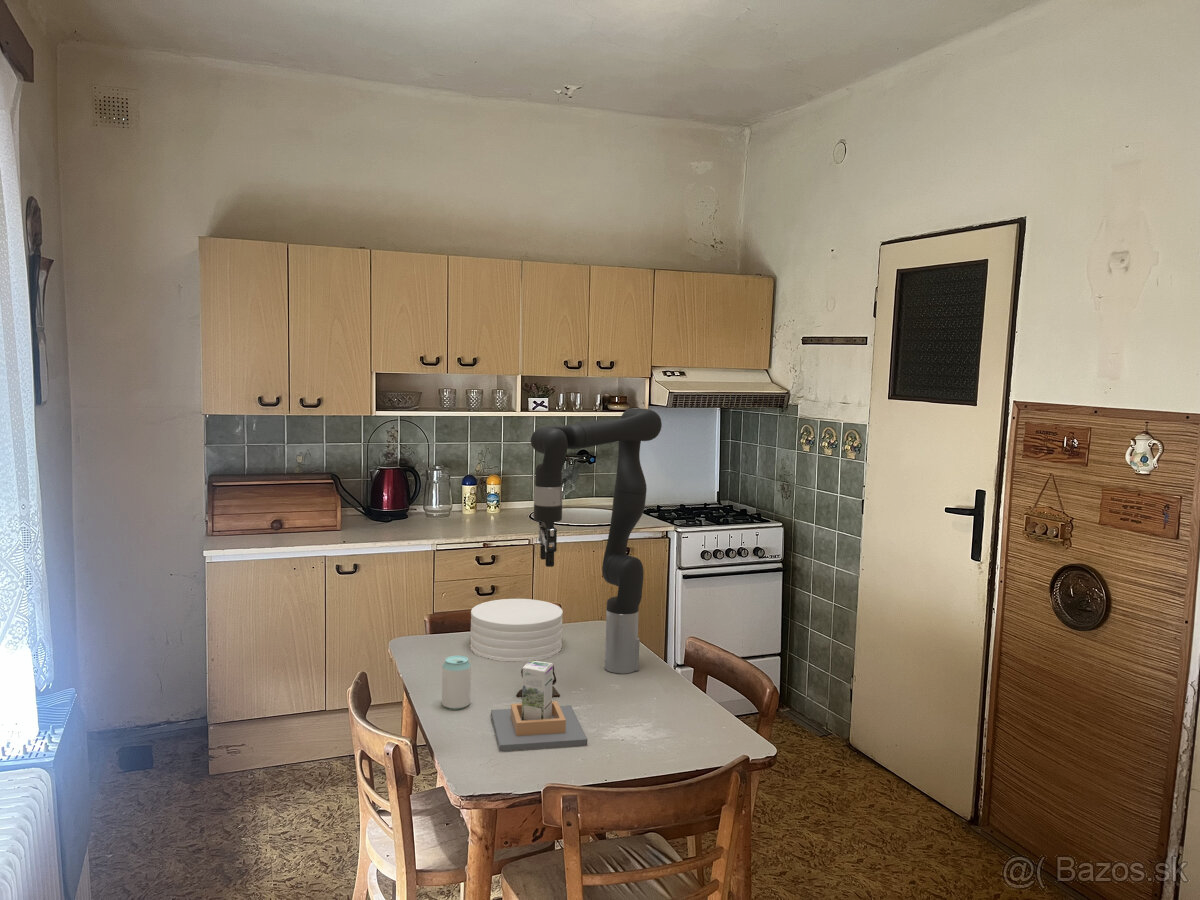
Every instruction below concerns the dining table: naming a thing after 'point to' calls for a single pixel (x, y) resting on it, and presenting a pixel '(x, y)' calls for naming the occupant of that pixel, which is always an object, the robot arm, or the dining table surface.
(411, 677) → the dining table surface
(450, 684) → the can
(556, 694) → the clothes iron
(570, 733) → the collar stand
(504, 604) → the plate stack
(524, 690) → the syrup box
